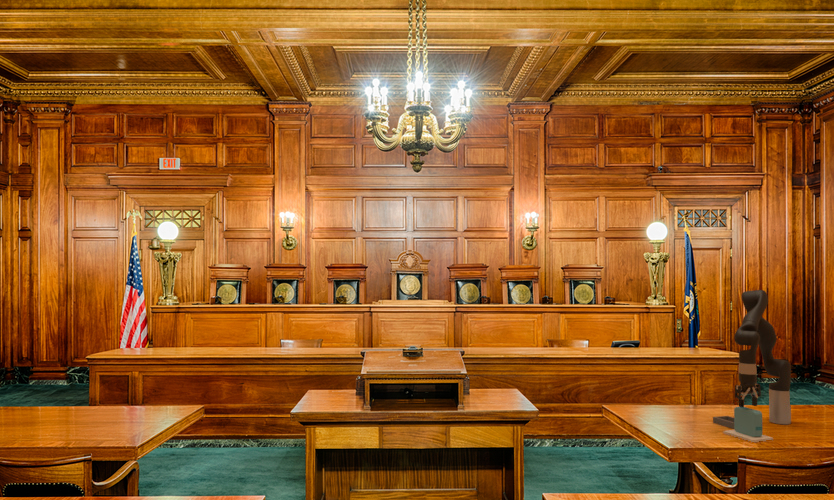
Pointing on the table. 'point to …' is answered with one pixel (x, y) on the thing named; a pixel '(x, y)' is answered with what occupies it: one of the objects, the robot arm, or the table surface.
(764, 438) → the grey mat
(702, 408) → the table surface
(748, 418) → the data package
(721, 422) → the holder box
